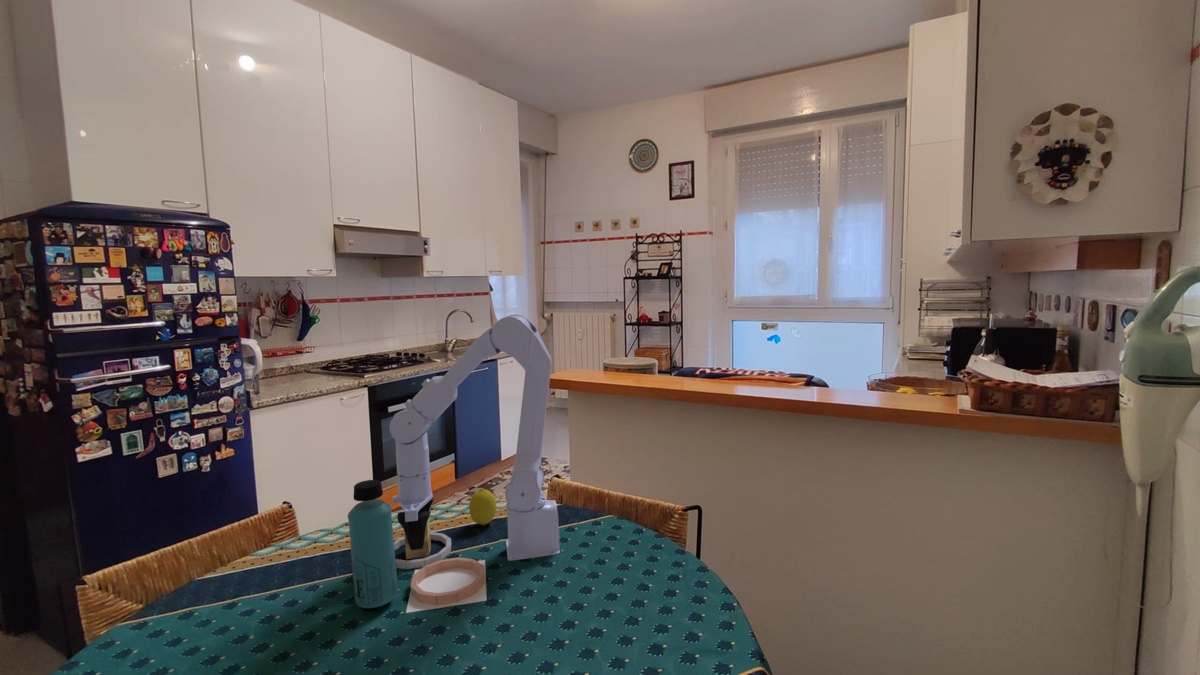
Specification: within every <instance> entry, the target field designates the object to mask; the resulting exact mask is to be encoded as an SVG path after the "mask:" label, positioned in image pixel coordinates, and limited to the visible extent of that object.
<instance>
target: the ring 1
mask: <svg viewBox="0 0 1200 675" xmlns="http://www.w3.org/2000/svg"><path fill="white" fill-rule="evenodd" d="M430 540H431V541H436V542H437V541H439V542H442V543H443V544H444V545H445V546H444V547H443V548H442V549H441V550H439V551H438V552H437V553H434V554H432V555H429V556H426V557H423V558H415V559H405V560H404V559H400V558H399V559H398V558H395V559H396V560H395V562H396V563H397V569H402V570H411V569H417V568H418V569H420V568H423V567H424V566H426V565H429V564H432V563H434V562H437V561H439V560H444V559H445V558H446V557H447V556H448V555H450V553H451V552H452V551H451V550H452V538H451V537H449V536H448V535H447V534H444V533H441V532H440V533H439V532H431V531H430ZM403 546H405V536H404V537H401V538H397V539H396V540H394V549H395V548H396V549H395V550H396V551H397V550H398V549H400V547H403Z"/></svg>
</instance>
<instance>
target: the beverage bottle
mask: <svg viewBox="0 0 1200 675" xmlns="http://www.w3.org/2000/svg"><path fill="white" fill-rule="evenodd" d="M383 495H384V491H383V487H382V481H381V480H377V479H368V480H362V481H360V482H358V483H355V485H354V486H353V500H354V501H357V502H358V503H357V504H355V505H354V506H353V507H352V508H351V510H349V512H348V514H347V520H348V528H349V541H350V542H349V548H350V554H351V556H350V557H351V560H350V563H351V578H352V579H351V580H352V581H351V582H352V592H353V599H354V602H355V603H356V605H357V606H358V607H360V608H363V609H374V608H379V607H382V606H385V605H386V604H389V603H391V601H393V600H394V599H395V597H396V596H397V593H398V589H399V580H398V576H399V575H398V568H397V563H396V562H395V560H396V559H397V558H396V551H397V549H396V548H395V549H396V550H395V549H394V542H395V540H394V531H393V530H394V529H393V517H392V506H391V504H390V503H388V502H386V501H385V500H383V499H380V498H381V497H382V496H383Z"/></svg>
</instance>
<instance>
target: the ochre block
mask: <svg viewBox="0 0 1200 675" xmlns="http://www.w3.org/2000/svg"><path fill="white" fill-rule="evenodd" d="M430 525H431V524H430V518H429V519H428V521H427V524H426V528H425V538H424V545H423V549H417V550H411V549H410V546H409V543H408V540H407V536H406V533H405V531H404V537H405V545H404V546H405V560H412V559H420V558H426V557H429V556H430V553H431V547H432V543H431V542H432V540H430V532H431V527H430Z"/></svg>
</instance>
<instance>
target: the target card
mask: <svg viewBox="0 0 1200 675" xmlns="http://www.w3.org/2000/svg"><path fill="white" fill-rule="evenodd" d="M477 561H478V562H479V563H481V564H482V565H483V566H484V577H485V584H484V585H483V586H482V587H481V588H480V589H479V591H478V592H477V593H476V594H474V595H472V596H470V597H468V598H466V599H464V600H461V601H459V602H456V603H450V604H443V605H431V604H425V603H420V602H418V601H417V600H416V599H415V598H414V597H413V596H412V595H411V590H410V593H409V597H408V602H407V606H406V610H405V614H409V613H417V612H422V611H428V610H434V609H440V608H441V609H442V608H447V607H448V608H449V607H454V606H459V605H467V604H474V603H480V602H486V601H487V599H488V598H487V580H486V579H487V578H486V577H487V576H486V572H487V571H486V560H485V559H483V560H477ZM420 569H421V568H418V569H417V568H416V569H414V573H413V575H414V574H416V573H417V572H418V571H419V570H420ZM478 576H479V575H478V574H477V573H475V572H474V571H473V570H469V569H462V568H454V569H447V570H441V571H439V572H436V573H434V574H432V575H429V576H427V577H426V578H425V579H424V580H423V581H421V582H420V583H419V584H418V587H419V588H420V589H422V590H423V591H427V592H433V593H443V592H450V591H456V590H458V589H460V588H463V587H465V586H467V585H469V584H471V583H472V582H473V581H474V580H475V579H476V578H477V577H478Z"/></svg>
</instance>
